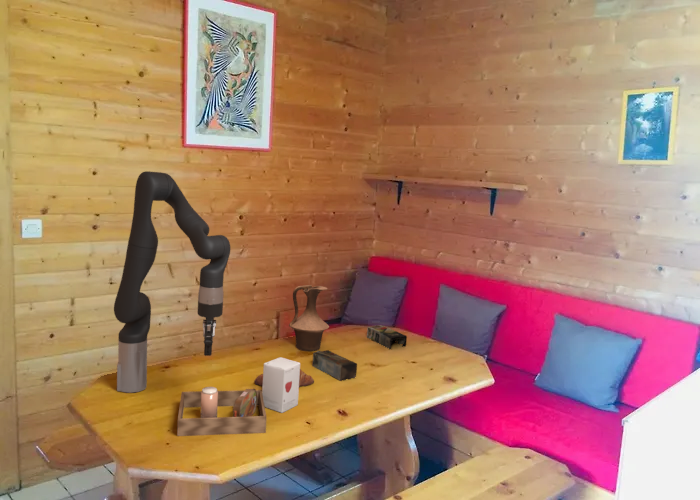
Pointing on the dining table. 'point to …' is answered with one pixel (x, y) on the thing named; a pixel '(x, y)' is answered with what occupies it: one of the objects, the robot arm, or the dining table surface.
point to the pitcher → (308, 320)
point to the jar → (209, 402)
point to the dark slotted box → (385, 336)
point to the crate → (220, 423)
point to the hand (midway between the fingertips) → (208, 350)
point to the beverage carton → (334, 365)
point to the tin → (245, 404)
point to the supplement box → (281, 384)
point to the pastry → (303, 379)
